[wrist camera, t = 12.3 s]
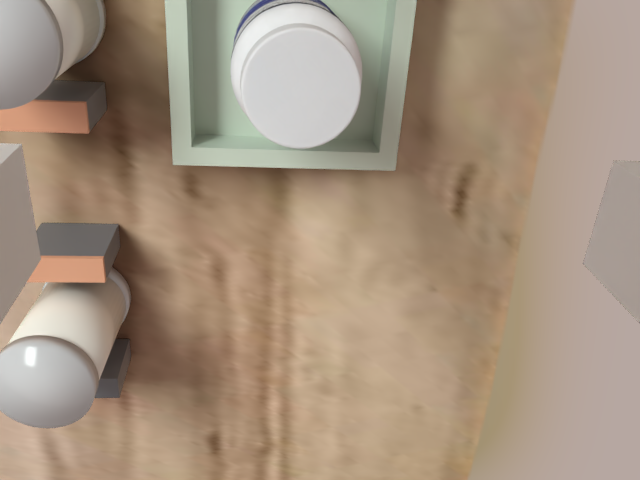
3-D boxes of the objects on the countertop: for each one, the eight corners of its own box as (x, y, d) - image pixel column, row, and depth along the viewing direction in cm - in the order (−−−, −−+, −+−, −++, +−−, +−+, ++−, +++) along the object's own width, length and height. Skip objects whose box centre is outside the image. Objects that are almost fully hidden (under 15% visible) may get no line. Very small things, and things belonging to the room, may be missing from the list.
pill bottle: (341, 98, 34) (371, 161, 25) (237, 101, 33) (230, 165, 25) (344, -14, 31) (378, 12, 22) (230, -13, 31) (220, 14, 22)
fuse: (-10, -49, 30) (-107, -37, 22) (101, -42, 30) (46, -28, 22) (8, 61, 32) (-73, 107, 24) (110, 65, 33) (64, 112, 25)
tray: (168, -92, 30) (160, -93, 27) (411, -75, 31) (426, -74, 28) (179, 146, 35) (172, 164, 32) (385, 152, 36) (395, 170, 34)
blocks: (-11, -105, 29) (-51, -109, 25) (87, -98, 29) (62, -101, 25) (63, 357, 41) (43, 402, 37) (131, 356, 42) (118, 401, 38)
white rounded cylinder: (47, 252, 37) (-16, 340, 29) (134, 265, 38) (96, 354, 30) (45, 322, 40) (-13, 422, 32) (128, 333, 40) (91, 433, 32)
